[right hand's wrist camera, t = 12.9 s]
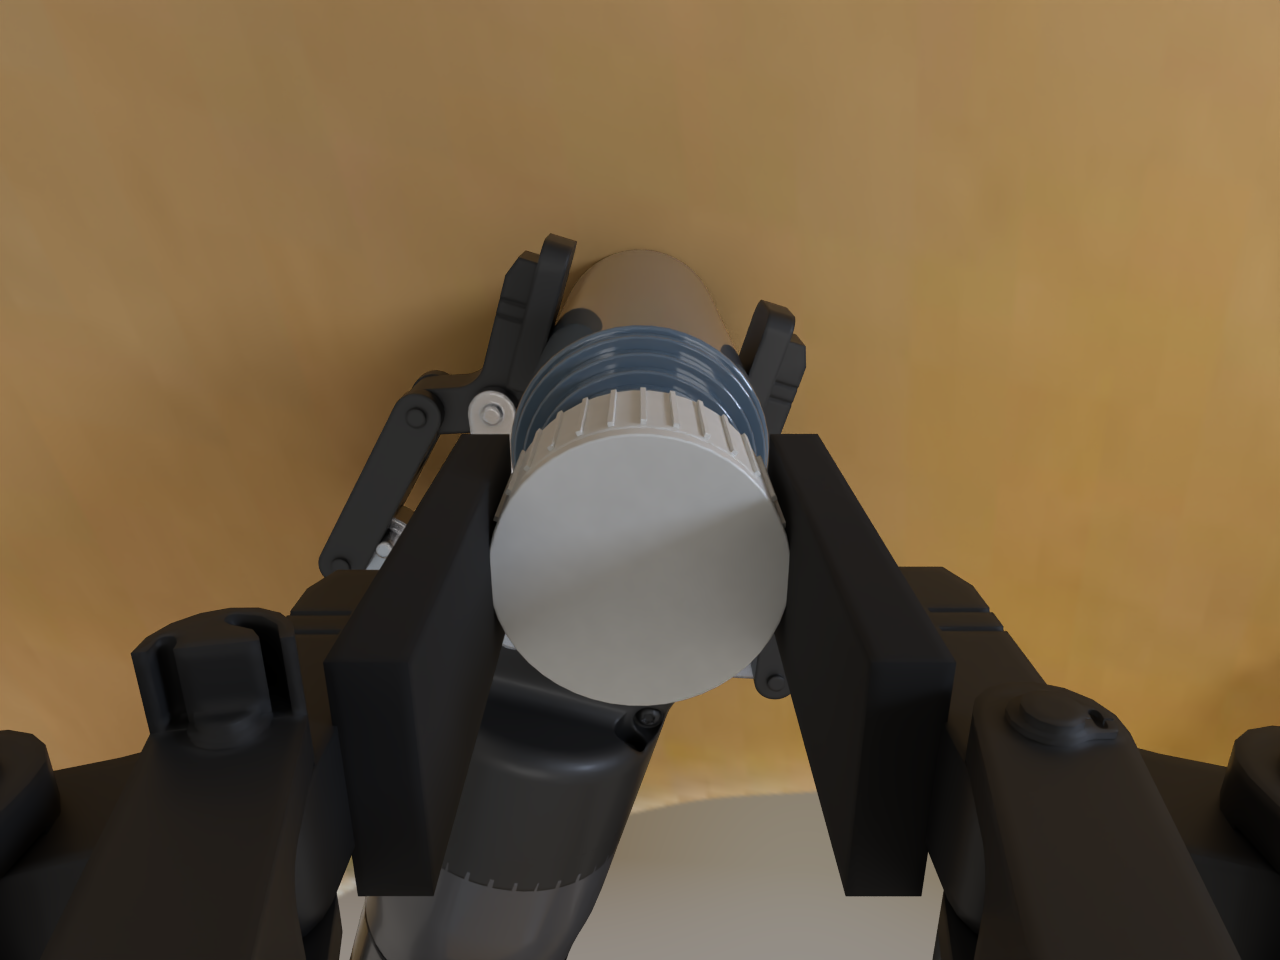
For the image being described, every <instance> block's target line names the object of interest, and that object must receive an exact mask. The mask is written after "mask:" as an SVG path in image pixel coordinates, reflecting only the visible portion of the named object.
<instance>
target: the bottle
mask: <svg viewBox="0 0 1280 960" xmlns="http://www.w3.org/2000/svg"><path fill="white" fill-rule="evenodd" d="M640 387H646V391H657V392H664V393H669V392H670V391H675V394H676V395H677V396H681V397H684V398H687V399H690V400H692V401H694V402H697V401H698V400H700V401H702V402H703V405H704V406H705V407H707V408H708V409H710V410H712V411H714V412H715V413H717V414H718V415H720V416H722V415H723V414H724V415H725V416H727V418H728V421H729V423H730V424H731V425H732V426H733V427H734V428H735V429H736V430H737V431H738V432H739V433H740V434H741V435H742V434H743V433H745V434H746V436H747V437H748V440H749V443H750V445H751V448H752V450H753V451H754V453H755V455H756V457H758V456H761V458H762V460H763V463H764V465H765V468H766V470H767V465H768V454H769V440H768V429H767V425H766V420H765V415H764V412H763V410H762V407H761V404H760V401H759V399H758V397H757V395H756V392H755V390H754V388H753V386H752V384H751V382H750V379H749V377H748V375H747V373H746V371H745V369H744V366H743V364H742V362H741V360H740V358H739V356H738V353H737V351H736V349H735V347H734V345H733V343H732V340H731V338H730V336H729V334H728V332H727V330H726V327H725V325H724V323H723V321H722V319H721V317H720V314H719V312H718V310H717V308H716V306H715V304H714V301H713V299H712V297H711V295H710V293H709V291H708V289H707V287H706V286H705V284H704V283H703V282H702V280H701V279H700V278H699V276H698V275H697V274H696V273H695V272H694V271H693V270H692V269H690V268H689V267H688V266H687V265H686V264H684V263H683V262H681V261H679V260H678V259H676V258H674V257H672V256H669V255H667V254H664V253H661V252H657V251H651V250H629V251H623V252H619V253H615V254H613V255H610V256H608V257H606V258H604V259H602V260H600V261H599V262H597V263H596V264H594V265H593V266H592V267H590V268H589V269H588V270H587V271H586V272H585V273H584V274H583V275H582V276H581V277H580V278H579V280H578V281H577V282H576V284H575V285H574V287H573V289H572V291H571V292H570V294H569V296H568V299H567V301H566V303H565V305H564V307H563V309H562V311H561V314H560V316H559V318H558V320H557V322H556V324H555V326H554V329H553V331H552V333H551V335H550V337H549V339H548V342H547V344H546V346H545V348H544V350H543V352H542V354H541V357H540V359H539V361H538V363H537V365H536V367H535V370H534V372H533V374H532V376H531V378H530V380H529V382H528V385H527V387H526V389H525V391H524V393H523V395H522V398H521V400H520V403H519V405H518V408H517V410H516V414H515V418H514V422H513V426H512V433H511V462H512V467H513V471H514V468H515V465H516V463H517V460H518V458H519V455H520V453H521V451H522V450H524V451H526V450H527V449H528V447H529V446H530V444H531V443H532V442H533V439H534V437H535V434H536V431H537V430H538V429H539V428H540V429H541V430H543V429H544V428H545V427H546V426H547V425H548V424H549V423H550V422H552V421H553V420H554V419H556V416H557V413H558V412H559V411H561V410H562V411H563V413H564V412H565V411H567V410H569V409H571V408H573V407H574V406H576V405H578V404H580V403H582V400H583V398H586V397H588V399H589V400H590V399H592V398H595V397H598V396H602V395H606V394H610V393H611V390H614V389H616V391H617V392H622V391H631V390H640Z"/></svg>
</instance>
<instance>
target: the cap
mask: <svg viewBox="0 0 1280 960" xmlns="http://www.w3.org/2000/svg"><path fill="white" fill-rule="evenodd" d="M777 500H778V499H777V496H776V494H775V491H774V488H773V486H772V483H771V481H770V478H769V475H768V473H767V470H766V468H765V465H764V463H763V460H762V458H761V456H758V457H756V455H755V453H754V451H753V450H752V448H751V445H750V443H749V440H748V437H747V436H746V434H745V433H743V434H742V435H741V434H740V433H739V432H738V431H737V430H736V429H735V428H734V427H733V426H732V425H731V424H730V423H729V421H728V418H727V416H725V415H724V414H723V415H722V416H720V415H718V414H717V413H715V412H714V411H712V410H710V409H708V408H707V407H705V406H704V405H703V402H702V401H700V400H698V401H697V402H694V401H692V400H690V399H687V398H684V397H681V396H677V395H676V394H675V391H670V392H669V393H664V392H657V391H646V387H640V390H631V391H622V392H617V391H616V389H614V390H611V393H610V394H606V395H602V396H598V397H595V398H592V399H590V400H589V399H588V397H586V398H583V400H582V403H580V404H578V405H576V406H574V407H573V408H571V409H569V410H567V411H565V412H564V413H563V411H562V410H561V411H559V412H558V413H557V416H556V419H554V420H553V421H552V422H550V423H549V424H548V425H547V426H546V427H545V428H544V429H543V430H541V429H540V428H539V429H538V430H537V431H536V434H535V437H534V439H533V442H532V443H531V444H530V446H529V447H528V449H527V450H526V451H524V450H522V451H521V453H520V455H519V458H518V460H517V463H516V465H515V468H514V471H513V473H512V474H511V475H510V478H509V480H508V483H507V485H506V488H505V490H504V493H503V495H502V498H501V501H500V503H499V506H498V508H497V511H496V513H495V516H494V519H493V521H496V522H497V523H496V526H495V529H494V531H493V535H492V539H491V543H490V565H491V580H492V595H493V606H494V609H495V612H496V615H497V618H498V620H499V622H500V624H501V626H502V628H503V630H504V632H505V633H506V635H507V637H508V638H509V640H510V641H511V642H512V644H513V645H514V647H515V648H516V649H517V651H518V652H519V653H520V654H521V655H522V656H523V657H524V658H525V659H526V660H527V661H528V663H530V664H531V665H532V666H533V667H534V668H535V669H537V670H538V671H539V672H540V673H541V674H543V675H544V676H546V677H547V678H549V679H550V680H552V681H553V682H555V683H556V684H558V685H560V686H562V687H564V688H566V689H568V690H570V691H572V692H574V693H576V694H579V695H582V696H585V697H588V698H590V699H594V700H598V701H602V702H607V703H611V704H620V705H628V706H650V705H660V704H668V703H672V702H677V701H682V700H685V699H688V698H691V697H694V696H697V695H700V694H703V693H705V692H707V691H709V690H711V689H713V688H716V687H718V686H719V685H721V684H723V683H724V682H726V681H728V680H729V679H731V678H732V677H734V676H735V675H736V674H738V673H739V672H740V671H741V670H743V669H744V668H745V667H746V666H748V665H749V664H750V663H751V661H752V660H753V659H754V658H755V657H756V656H757V655H758V654H759V653H760V652H761V651H762V649H763V648H764V647H765V645H766V644H767V643H768V641H769V640H770V639H771V637H772V635H773V633H774V632H775V630H776V628H777V626H778V624H779V623H780V620H781V618H782V615H783V613H784V610H785V607H786V600H787V586H788V572H789V555H790V548H789V543H788V538H787V534H786V531H785V529H784V528H786V522H785V519H784V516H783V514H782V511H781V509H780V506H779V503H778V501H777Z"/></svg>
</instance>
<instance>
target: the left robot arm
mask: <svg viewBox="0 0 1280 960" xmlns="http://www.w3.org/2000/svg"><path fill="white" fill-rule="evenodd" d="M576 244H577V241H574V240H570V239H567V238H564V237H561V236H558V235H554V234H551V233H550V234H549V235H548V236H547V237H546V239H545V241H544V243H543V246H542V249H541V253H540V255H539V254H535V253H532V252H529V251H525V252H524V253H523V254H522V255H520V256H519V257H518V259H517V260H516V262H515V263H514V264H513V266H512V267H511V268H510V270H509V271H508V272H507V274H506V275H505V279H504V283H503V287H502V292H501V296H500V300H499V304H498V308H497V312H496V316H495V320H494V324H493V328H492V333H491V337H490V341H489V345H488V349H487V353H486V357H485V361H484V365H483V368H482V369H480V370H479V371H477V372H474V373H471V374H459V375H449V374H447V373H445V372H443V371H438V370H434V371H429V372H426V373H425V374H423V375H422V376H421V377H420V378H419V379H418V380H417V381H416V382H415V384H414V386H413V388H412V389H411V390H410V391H409V392H407V393H406V394H404V395H403V396H402V397H401V398H400V399H399V401H398V402H397V403H396V404H395V406H394V408H393V410H392V412H391V414H390V416H389V418H388V420H387V422H386V424H385V426H384V428H383V430H382V432H381V434H380V436H379V438H378V440H377V442H376V444H375V446H374V448H373V450H372V452H371V454H370V456H369V458H368V460H367V462H366V464H365V466H364V468H363V470H362V472H361V475H360V477H359V479H358V481H357V483H356V485H355V487H354V489H353V491H352V493H351V495H350V497H349V499H348V501H347V503H346V505H345V507H344V509H343V511H342V513H341V515H340V517H339V519H338V521H337V523H336V525H335V527H334V529H333V531H332V533H331V535H330V537H329V539H328V541H327V543H326V545H325V547H324V549H323V551H322V553H321V555H320V557H319V569H320V571H321V573H322V575H323V576H324V577H327V576H328V575H330V574H331V573H333V572H335V571H336V570H379V569H380V568H381V566H382V564H383V563H384V561H385V559H386V558H387V556H388V555H389V553H390V551H391V550H392V548H393V546H394V545H395V543H396V541H397V540H398V538H399V536H400V535H401V533H402V532H403V530H404V528H405V527H406V525H407V523H408V522H409V520H410V518H411V517H412V515H413V513H414V512H413V511H412V510H411V509H409V508H407V507H405V506H403V505H404V503H405V501H406V499H407V497H408V496H409V494H410V492H411V490H412V488H413V486H414V484H415V482H416V480H417V478H418V476H419V475H420V473H421V471H422V469H423V467H424V465H425V463H426V461H427V459H428V457H429V455H430V453H431V452H432V450H433V448H434V446H435V444H436V442H437V440H438V438H439V436H440V434H455V433H471V434H510V452H511V433H512V426H513V422H514V418H515V414H516V410H517V408H518V405H519V403H520V400H521V398H522V395H523V393H524V391H525V389H526V387H527V385H528V382H529V380H530V378H531V376H532V374H533V372H534V370H535V367H536V365H537V363H538V361H539V359H540V357H541V354H542V352H543V350H544V348H545V346H546V344H547V342H548V339H549V337H550V335H551V333H552V331H553V329H554V326H555V323H556V319H557V315H558V312H559V308H560V304H561V301H562V297H563V293H564V289H565V286H566V282H567V278H568V275H569V271H570V267H571V263H572V260H573V256H574V252H575V248H576ZM794 326H795V316H794V315H793V314H792V313H791V312H790V311H789V310H788V309H787V308H786V307H783V306H780V305H777V304H773V303H770V302H767V301H764V300H760V302H759V303H758V305H757V307H756V309H755V312H754V314H753V317H752V320H751V323H750V326H749V328H748V331H747V334H746V337H745V340H744V343H743V346H742V348H741V351H740V354H739V358H740V360H741V362H742V364H743V366H744V369H745V371H746V373H747V375H748V377H749V379H750V382H751V384H752V386H753V388H754V390H755V392H756V395H757V397H758V399H759V401H760V404H761V407H762V410H763V412H764V415H765V420H766V425H767V429H768V440H769V441H770V434H781V432H782V429H783V426H784V424H785V421H786V418H787V416H788V413H789V411H790V408H791V404H792V402H793V400H794V397H795V395H796V392H797V388H798V387H799V384H800V382H801V379H802V376H803V374H804V371H805V369H806V346H805V345H804V344H803V343H802V341H801V340H800V339H799V338H798V336H797V335H796V334H793V331H794ZM768 459H769V454H768ZM511 470H512V473H513V467H512V462H511ZM767 473H768V465H767ZM733 678H751V679H754V683H755V687H756V689H757V691H758V692H759V693H760V694H761V695H762V696H764V697H766V698H769V699H781V698H784V697H786V696H788V695H789V694H790V690H789V686H788V683H787V679H786V675H785V672H784V668H783V664H782V661H781V657H780V653H779V650H778V646H777V642H776V639H775V635H774V633H773V635H772V637H771V639H770V640H769V641H768V643H767V644H766V645H765V647H764V648H763V649H762V651H761V652H760V653H759V654H758V655H757V656H756V657H755V658H754V659H753V660H752V661H751V663H750V664H749V665H748V666H746V667H745V668H744V669H743V670H741V671H740V672H739V673H738V674H736V675H735V676H734V677H733ZM674 703H675V702H672V703H668V704H660V705H650V706H628V705H620V704H611V703H607V702H602V701H598V700H594V699H590V698H588V697H585V696H582V695H579V694H576V693H574V692H572V691H570V690H568V689H566V688H564V687H562V686H560V685H558V684H556V683H555V682H553V681H552V680H550V679H549V678H547V677H546V676H544V675H543V674H541V673H540V672H539V671H538V670H537V669H535V668H534V667H533V666H532V665H531V664H530V663H528V661H527V660H526V659H525V658H524V657H523V656H522V655H521V654H520V653H519V652H518V651H517V649H516V648H515V647H514V645H513V644H512V642H511V641H510V640H509V638H508V637H507V635H506V633H505V637H504V640H503V644H502V648H501V651H500V655H499V659H498V662H497V666H496V670H495V673H494V677H493V681H492V684H491V688H490V692H489V695H488V699H487V703H486V706H485V710H484V714H483V717H482V721H481V725H480V728H479V732H478V736H477V739H476V743H475V747H474V750H473V754H472V758H471V761H470V765H469V769H468V772H467V776H466V780H465V783H464V787H463V791H462V794H461V798H460V802H459V805H458V809H457V813H456V816H455V820H454V824H453V827H452V831H451V835H450V838H449V842H448V846H447V849H446V853H445V857H444V860H443V864H442V868H441V871H440V875H439V879H438V882H437V886H436V890H435V893H434V896H366V897H365V901H364V905H363V909H362V913H361V917H360V921H359V925H358V929H357V933H356V937H355V941H354V945H353V949H352V953H351V957H350V960H566V959H567V956H568V953H569V951H570V949H571V946H572V944H573V942H574V941H575V939H576V937H577V935H578V934H579V932H580V930H581V929H582V927H583V926H584V924H585V922H586V921H587V919H588V917H589V915H590V913H591V912H592V909H593V907H594V905H595V903H596V900H597V898H598V896H599V893H600V891H601V889H602V886H603V883H604V881H605V878H606V875H607V873H608V870H609V868H610V865H611V862H612V859H613V857H614V854H615V851H616V849H617V846H618V843H619V841H620V838H621V835H622V833H623V830H624V827H625V825H626V822H627V819H628V817H629V814H630V812H631V809H632V806H633V804H634V801H635V798H636V796H637V793H638V790H639V788H640V785H641V783H642V780H643V777H644V775H645V772H646V769H647V767H648V764H649V761H650V759H651V756H652V753H653V751H654V748H655V745H656V743H657V740H658V737H659V735H660V732H661V729H662V727H663V724H664V721H665V718H666V716H667V713H668V711H669V709H670V708H671V706H672V705H673V704H674Z"/></svg>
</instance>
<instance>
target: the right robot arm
mask: <svg viewBox="0 0 1280 960" xmlns="http://www.w3.org/2000/svg"><path fill="white" fill-rule="evenodd" d="M511 474H512V470H511V452H510V434H462V435H461V436H460V438H459V439H458V441H457V443H456V444H455V446H454V448H453V449H452V451H451V453H450V454H449V456H448V458H447V459H446V461H445V463H444V464H443V466H442V467H441V469H440V471H439V472H438V474H437V476H436V477H435V479H434V481H433V482H432V484H431V486H430V487H429V489H428V490H427V492H426V494H425V495H424V497H423V499H422V500H421V502H420V504H419V505H418V507H417V509H416V510H415V512H414V513H413V515H412V517H411V518H410V520H409V522H408V523H407V525H406V527H405V528H404V530H403V532H402V533H401V535H400V536H399V538H398V540H397V541H396V543H395V545H394V546H393V548H392V550H391V551H390V553H389V555H388V556H387V558H386V559H385V561H384V563H383V564H382V566H381V568H380V569H379V570H336V571H335V572H333V573H331V574H330V575H328V576H327V577H325V578H323V579H322V580H320V581H319V582H317V583H315V584H314V585H312V586H311V587H309V588H308V589H307V590H306V591H305V592H304V594H303V595H302V596H301V598H300V599H299V600H298V602H297V603H296V604H295V606H294V607H293V608H292V610H291V611H290V613H291V614H290V616H286V617H285V616H284V615H282V614H281V613H279V612H275V611H270V610H266V609H262V608H227V609H221V610H216V611H210V612H205V613H200V614H197V615H194V616H191V617H188V618H185V619H182V620H179V621H177V622H174V623H171V624H169V625H167V626H166V627H164V628H162V629H160V630H158V631H157V632H155V633H153V634H151V635H150V636H148V637H146V638H145V639H144V640H143V641H142V642H141V643H140V644H139V645H138V646H137V648H136V649H135V650H134V651H133V652H132V653H131V656H132V660H133V665H134V669H135V673H136V677H137V681H138V685H139V689H140V694H141V698H142V702H143V706H144V710H145V714H146V719H147V723H148V727H149V731H150V735H149V737H148V739H147V741H146V744H145V746H144V748H143V750H142V752H141V753H137V754H133V755H129V756H125V757H121V758H117V759H112V760H107V761H102V762H97V763H92V764H87V765H81V766H76V767H71V768H66V769H61V770H56V771H53V769H52V765H51V762H50V759H49V755H48V752H47V748H46V745H45V744H44V743H43V742H41V741H40V740H39V739H38V738H37V737H35V736H34V735H33V734H30V733H24V732H18V731H12V730H2V731H0V960H339V955H340V947H341V939H342V925H341V918H340V911H339V905H338V898H337V890H338V887H339V885H340V882H341V880H342V878H343V875H344V873H345V870H346V868H347V865H348V863H349V860H350V858H351V855H352V859H353V866H354V872H355V879H356V886H357V892H358V896H434V893H435V890H436V886H437V882H438V879H439V875H440V871H441V868H442V864H443V860H444V857H445V853H446V849H447V846H448V842H449V838H450V835H451V831H452V827H453V824H454V820H455V816H456V813H457V809H458V805H459V802H460V798H461V794H462V791H463V787H464V783H465V780H466V776H467V772H468V769H469V765H470V761H471V758H472V754H473V750H474V747H475V743H476V739H477V736H478V732H479V728H480V725H481V721H482V717H483V714H484V710H485V706H486V703H487V699H488V695H489V692H490V688H491V684H492V681H493V677H494V673H495V670H496V666H497V662H498V659H499V655H500V651H501V648H502V644H503V640H504V637H505V632H504V630H503V628H502V626H501V624H500V622H499V620H498V618H497V615H496V612H495V609H494V606H493V595H492V580H491V565H490V543H491V539H492V535H493V531H494V529H495V526H496V523H497V522H496V521H493V519H494V516H495V513H496V511H497V508H498V506H499V503H500V501H501V498H502V495H503V493H504V490H505V488H506V485H507V483H508V480H509V478H510V475H511ZM768 475H769V478H770V481H771V483H772V486H773V488H774V491H775V494H776V496H777V499H778V500H777V501H778V503H779V506H780V509H781V511H782V514H783V516H784V519H785V522H786V528H784V529H785V531H786V534H787V538H788V543H789V548H790V555H789V572H788V586H787V600H786V607H785V610H784V613H783V615H782V618H781V620H780V623H779V624H778V626H777V628H776V630H775V632H774V635H775V639H776V642H777V646H778V650H779V653H780V657H781V661H782V664H783V668H784V672H785V675H786V679H787V683H788V686H789V690H790V694H791V697H792V701H793V705H794V708H795V712H796V716H797V719H798V723H799V727H800V730H801V734H802V738H803V741H804V745H805V749H806V752H807V756H808V760H809V763H810V767H811V771H812V774H813V778H814V782H815V785H816V789H817V793H818V796H819V800H820V804H821V807H822V811H823V815H824V818H825V822H826V826H827V829H828V833H829V837H830V840H831V844H832V848H833V851H834V855H835V859H836V862H837V866H838V870H839V873H840V877H841V881H842V884H843V888H844V891H845V895H846V896H921V895H922V888H923V882H924V875H925V869H926V862H927V855H928V852H929V855H930V857H931V860H932V862H933V865H934V867H935V869H936V872H937V874H938V877H939V879H940V882H941V884H942V887H943V889H944V892H943V898H942V905H941V911H940V917H939V923H938V929H937V935H936V942H935V948H934V954H933V960H1280V726H1267V727H1262V728H1256V729H1250V730H1247V731H1246V732H1245V733H1244V734H1242V735H1241V736H1240V737H1239V738H1237V739H1236V740H1235V742H1234V746H1233V749H1232V753H1231V756H1230V759H1229V763H1228V766H1227V767H1224V766H1219V765H1214V764H1209V763H1204V762H1198V761H1193V760H1188V759H1183V758H1178V757H1173V756H1168V755H1163V754H1158V753H1155V752H1151V751H1147V750H1143V749H1139V748H1137V746H1136V744H1135V742H1134V740H1133V738H1132V736H1131V734H1130V732H1129V731H1128V730H1127V729H1126V727H1125V726H1124V725H1123V724H1122V722H1121V721H1120V720H1119V719H1118V717H1117V716H1116V715H1115V714H1113V713H1112V712H1110V711H1109V710H1107V709H1106V708H1104V707H1103V706H1101V705H1100V704H1098V703H1097V702H1095V701H1094V700H1092V699H1090V698H1087V697H1085V696H1082V695H1080V694H1078V693H1075V692H1073V691H1070V690H1068V689H1065V688H1061V687H1056V686H1052V685H1047V684H1046V683H1045V681H1044V680H1043V679H1042V677H1041V676H1040V675H1039V673H1038V672H1037V671H1036V669H1035V668H1034V667H1033V665H1032V664H1031V663H1030V661H1029V660H1028V659H1027V657H1026V656H1025V655H1024V653H1023V652H1022V651H1021V649H1020V648H1019V647H1018V645H1017V644H1016V643H1015V641H1014V640H1013V639H1012V637H1011V636H1010V635H1009V633H1008V632H1007V631H1004V630H1003V625H1002V624H1001V623H1000V621H999V620H998V619H997V617H996V616H995V615H994V613H993V612H990V611H989V607H988V605H987V604H986V603H985V601H984V600H983V599H982V597H981V596H980V595H979V593H978V592H977V591H976V589H975V588H974V587H973V586H972V585H971V584H969V583H968V582H966V581H964V580H963V579H961V578H960V577H958V576H956V575H955V574H953V573H952V572H950V571H948V570H947V569H945V568H944V567H898V565H897V564H896V562H895V560H894V559H893V557H892V556H891V554H890V552H889V551H888V549H887V547H886V546H885V544H884V542H883V541H882V539H881V537H880V536H879V534H878V533H877V531H876V529H875V528H874V526H873V524H872V523H871V521H870V519H869V518H868V516H867V514H866V513H865V511H864V510H863V508H862V506H861V505H860V503H859V501H858V500H857V498H856V496H855V495H854V493H853V491H852V490H851V488H850V486H849V485H848V483H847V482H846V480H845V478H844V477H843V475H842V473H841V472H840V470H839V468H838V467H837V465H836V463H835V462H834V460H833V459H832V457H831V455H830V454H829V452H828V450H827V449H826V447H825V445H824V444H823V442H822V440H821V439H820V437H819V436H818V434H770V441H769V459H768Z"/></svg>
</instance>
